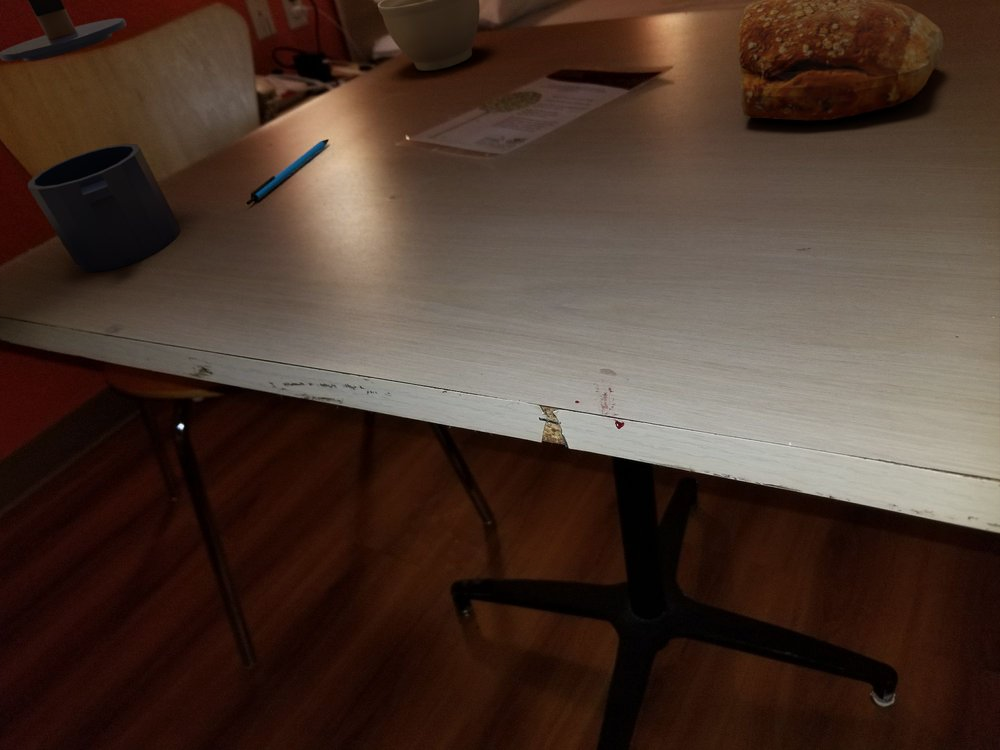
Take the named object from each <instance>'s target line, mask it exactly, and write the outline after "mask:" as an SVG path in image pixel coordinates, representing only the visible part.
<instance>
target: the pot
mask: <svg viewBox="0 0 1000 750" xmlns="http://www.w3.org/2000/svg"><path fill="white" fill-rule="evenodd" d="M27 188H28V190H29V192H30V193H31V195H32V197H33V198H34V200H35V201H36V203H37V204H38V206H39V208H40V209H41V211H42V213H43V214H44V216H45V217H46V220H47V221H48V222H49V224H50V225H51V227H52V229H53V231H54V232H55V233H56V235H57V237H58V239H59V240H60V242H61V243H62V245H63V247H64V249H65V250H66V252H67V253H68V255H69V257H71V259H72V262H73V263H74V264H75V265H76V266H77V268H78V269H79V270H80V271H82V272H88V273H97V272H99V273H100V272H106V271H111V270H115V269H118V268H122V267H125V266H129V265H131V264H134V263H137V262H139V261H141V260H145V259H146V258H148V257H151V256H152V255H154V254H155V253H158V252H159V251H160V250H162V249H164V248H165V247H167V246H168V245H170V244H171V243H172V242H173V241H174V240H175V239H176V238H177V237H178V235H179V234H180V231H181V227H180V225H179V222H178V221H177V218H176V216H175V214H174V212H173V210H172V208H171V206H170V204H169V203H168V201H167V198H166V197H165V195H164V193H163V191H162V189H161V187H160V184H159V182H158V180H157V179H156V177H155V175H154V173H153V171H152V169H151V167H150V165H149V163H148V160H147V159H146V157H145V156H144V153H143V151H142V149H141V147H140V146H139V145H138V144H137V143H120V144H119V143H118V144H114V145H113V144H112V145H108V146H104V147H101V148H95V149H93V150H89V151H86V152H83V153H80V154H78V155H77V154H76V155H75V156H72V157H69V158H67V159H64V160H61V161H60V162H57V163H55V164H53V165H51V166H48V167H47V168H46V169H44V170H42V171H40V172H39V173H37V174H35V175H34V176H33V177H32V178H31V179H30V180H29V181H28V182H27Z"/></svg>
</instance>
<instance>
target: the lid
mask: <svg viewBox="0 0 1000 750" xmlns="http://www.w3.org/2000/svg"><path fill="white" fill-rule="evenodd" d="M27 2H28V4H29V6H30V7H31V5H30V3H29V1H28V0H27ZM35 17H36V19H37V21H38V23H39V24H40V27H41V28H42V30H43V32H44V35H42V36H41V35H40V36H39V37H36V38H32V39H29V40H26V41H24V42H20V43H17V44H15V45H13V46H10V47H8V48H6V49H3V50H1V51H0V60H1V61H2V62H12V61H20V60H23V61H24V62H37V61H42V60H46V59H51V58H55V57H58V56H63V55H66V54H70V53H73V52H77V51H80V50H83V49H86V48H89V47H92V46H95V45H97V44H100V43H102V42H105V41H107V40H109V39H111V38H112V37H113V33H116V32H118V31H120V30H123V29H124V28H125V27H127V25H128V24H127V22H126V20H125V19H124V18H123V17H118V18H117V17H115V18H111V19H109V18H108V19H103V20H98V21H93V22H90V23H85V24H81V25H78V26H77V25H76V26H75V25H74V23H73V21H72V19H71V17H70V15H69V14H68V11H67V9H66V8H65V9H63V10H60V11H56V12H52V13H49V14H45V15H41V16H38V17H37V16H36V15H35Z"/></svg>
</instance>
